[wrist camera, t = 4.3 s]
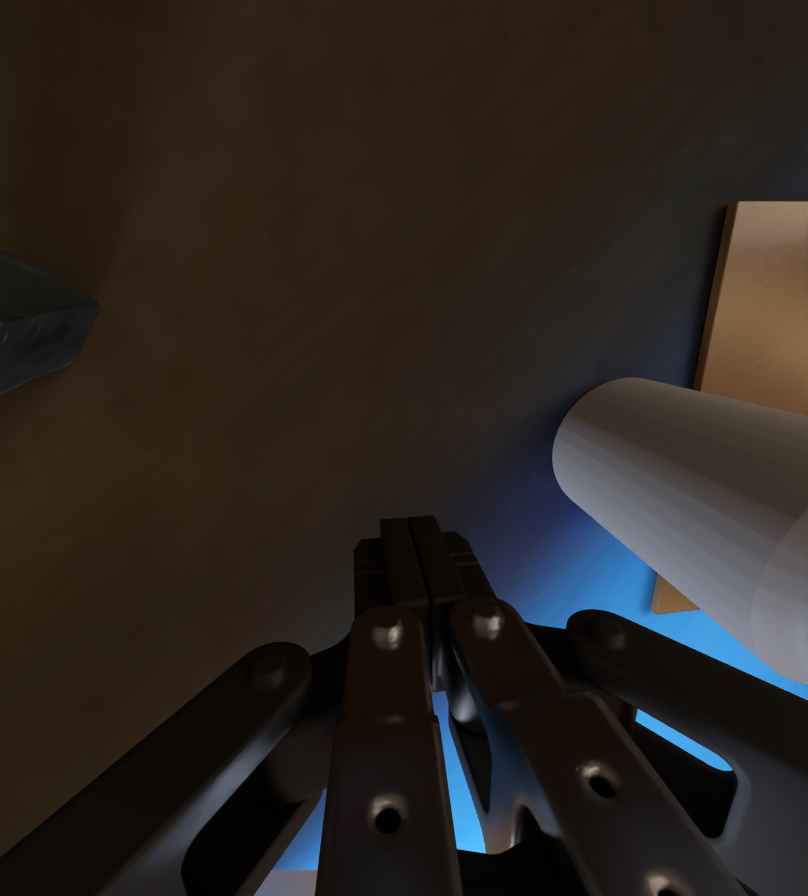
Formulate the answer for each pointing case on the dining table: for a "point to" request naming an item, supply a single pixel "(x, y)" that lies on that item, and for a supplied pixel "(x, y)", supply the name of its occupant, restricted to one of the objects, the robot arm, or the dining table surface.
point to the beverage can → (702, 502)
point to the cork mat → (754, 323)
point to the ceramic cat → (38, 321)
